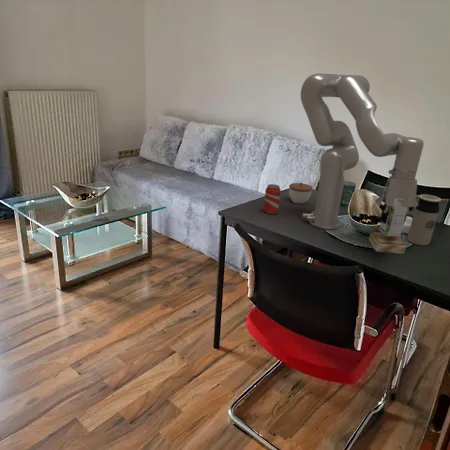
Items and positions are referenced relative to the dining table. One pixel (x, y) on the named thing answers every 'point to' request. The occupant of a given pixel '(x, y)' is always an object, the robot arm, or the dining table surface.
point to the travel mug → (424, 220)
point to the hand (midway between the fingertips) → (392, 222)
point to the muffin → (407, 225)
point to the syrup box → (394, 219)
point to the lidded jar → (299, 192)
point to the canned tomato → (347, 193)
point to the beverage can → (272, 199)
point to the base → (387, 243)
